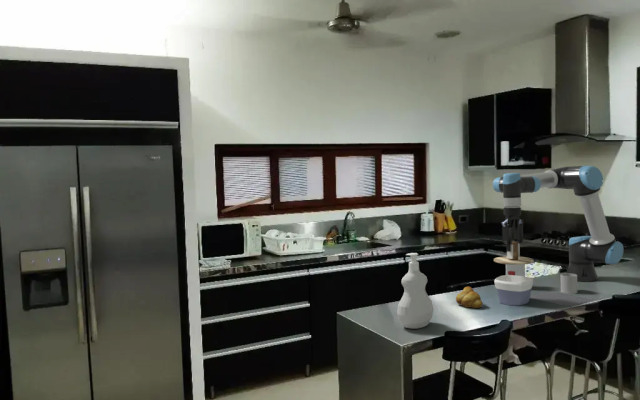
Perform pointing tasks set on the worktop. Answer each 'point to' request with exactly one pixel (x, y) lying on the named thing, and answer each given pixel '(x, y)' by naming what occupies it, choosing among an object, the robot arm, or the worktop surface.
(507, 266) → the supplement box
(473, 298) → the bread roll
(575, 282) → the cup
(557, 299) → the mat
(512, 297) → the bowl
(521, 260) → the lid
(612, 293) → the worktop surface
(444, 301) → the worktop surface
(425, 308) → the soap bottle
